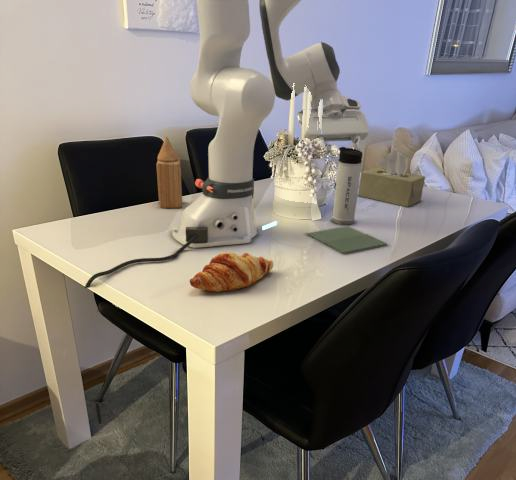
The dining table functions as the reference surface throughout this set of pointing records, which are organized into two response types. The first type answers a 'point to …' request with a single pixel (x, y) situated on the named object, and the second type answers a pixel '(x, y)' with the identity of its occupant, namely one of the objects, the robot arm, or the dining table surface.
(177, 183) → the decorative item
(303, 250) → the dining table surface
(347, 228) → the napkin
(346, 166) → the travel mug
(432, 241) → the dining table surface
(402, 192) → the tissue box
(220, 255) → the croissant
